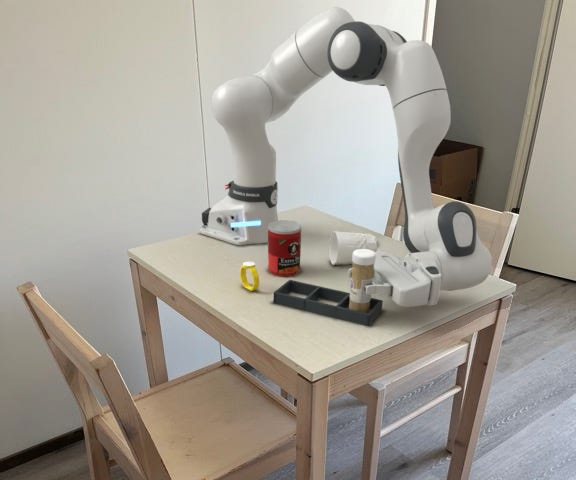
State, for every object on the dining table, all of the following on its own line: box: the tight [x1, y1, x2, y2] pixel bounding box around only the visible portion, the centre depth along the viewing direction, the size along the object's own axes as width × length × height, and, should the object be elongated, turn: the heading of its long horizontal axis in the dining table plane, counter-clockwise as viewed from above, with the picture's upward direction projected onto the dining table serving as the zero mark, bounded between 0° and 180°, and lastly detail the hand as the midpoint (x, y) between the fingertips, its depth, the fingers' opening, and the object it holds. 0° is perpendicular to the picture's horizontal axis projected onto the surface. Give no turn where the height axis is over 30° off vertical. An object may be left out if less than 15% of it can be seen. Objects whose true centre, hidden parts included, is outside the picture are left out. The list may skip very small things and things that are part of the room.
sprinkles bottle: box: [348, 249, 376, 313], centre depth 121 cm, size 5×5×14 cm
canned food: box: [267, 219, 302, 277], centre depth 141 cm, size 8×8×11 cm
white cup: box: [328, 230, 378, 266], centre depth 146 cm, size 8×8×10 cm
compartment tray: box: [273, 279, 384, 327], centre depth 127 cm, size 22×8×2 cm, turn 63°
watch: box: [239, 261, 260, 292], centre depth 133 cm, size 6×3×6 cm, turn 35°
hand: (357, 281), depth 121 cm, fingers open, 6 cm apart
